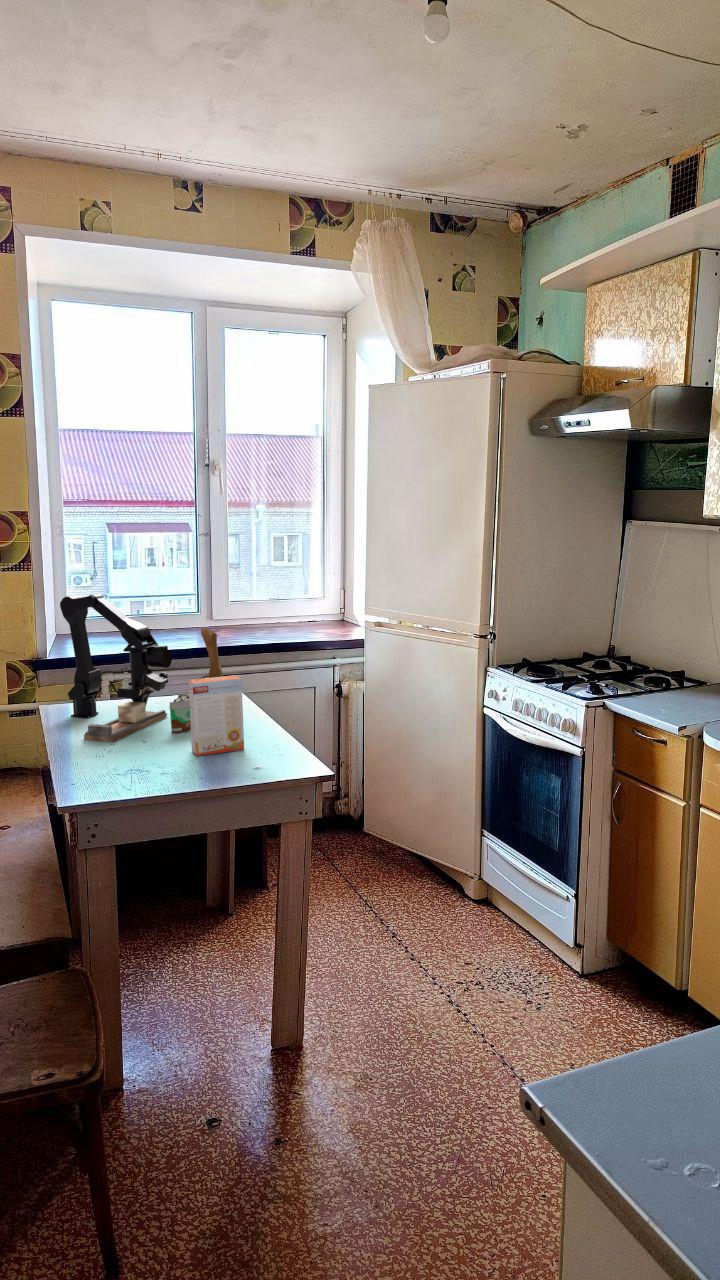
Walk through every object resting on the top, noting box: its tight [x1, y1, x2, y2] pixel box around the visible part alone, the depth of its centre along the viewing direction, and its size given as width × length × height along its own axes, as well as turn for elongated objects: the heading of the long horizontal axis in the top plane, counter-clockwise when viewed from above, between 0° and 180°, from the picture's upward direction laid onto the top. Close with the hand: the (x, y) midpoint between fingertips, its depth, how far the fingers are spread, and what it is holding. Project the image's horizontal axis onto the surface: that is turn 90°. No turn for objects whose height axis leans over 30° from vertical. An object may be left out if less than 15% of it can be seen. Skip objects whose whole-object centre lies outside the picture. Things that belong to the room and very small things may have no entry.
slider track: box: [83, 709, 168, 744], centre depth 267 cm, size 10×30×4 cm, turn 162°
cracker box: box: [188, 674, 245, 757], centre depth 242 cm, size 14×6×21 cm, turn 114°
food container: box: [169, 693, 191, 735], centre depth 265 cm, size 12×6×10 cm, turn 179°
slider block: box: [117, 700, 147, 723], centre depth 270 cm, size 6×6×5 cm
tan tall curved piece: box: [200, 626, 224, 678], centre depth 285 cm, size 7×19×28 cm, turn 16°
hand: (142, 713), depth 275 cm, fingers closed
